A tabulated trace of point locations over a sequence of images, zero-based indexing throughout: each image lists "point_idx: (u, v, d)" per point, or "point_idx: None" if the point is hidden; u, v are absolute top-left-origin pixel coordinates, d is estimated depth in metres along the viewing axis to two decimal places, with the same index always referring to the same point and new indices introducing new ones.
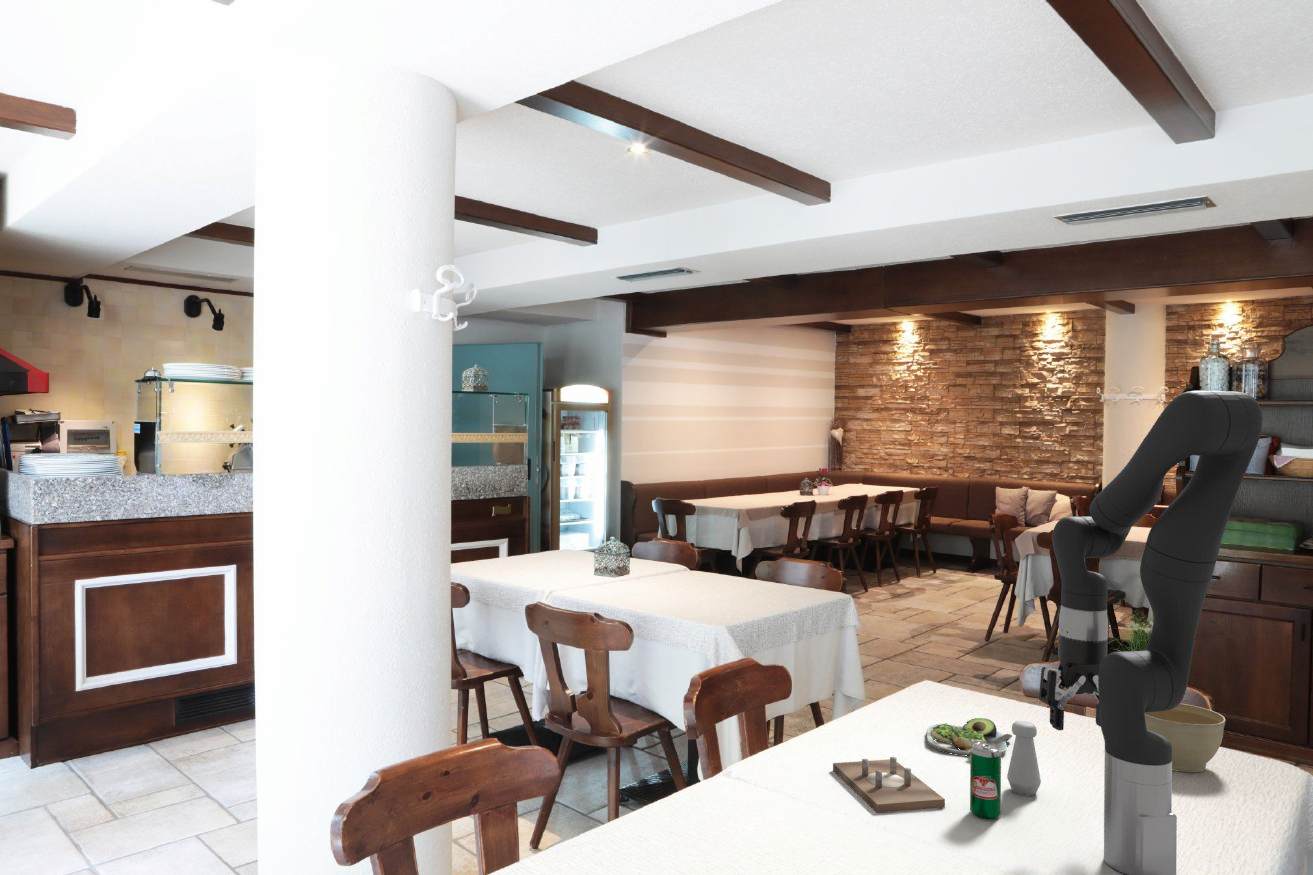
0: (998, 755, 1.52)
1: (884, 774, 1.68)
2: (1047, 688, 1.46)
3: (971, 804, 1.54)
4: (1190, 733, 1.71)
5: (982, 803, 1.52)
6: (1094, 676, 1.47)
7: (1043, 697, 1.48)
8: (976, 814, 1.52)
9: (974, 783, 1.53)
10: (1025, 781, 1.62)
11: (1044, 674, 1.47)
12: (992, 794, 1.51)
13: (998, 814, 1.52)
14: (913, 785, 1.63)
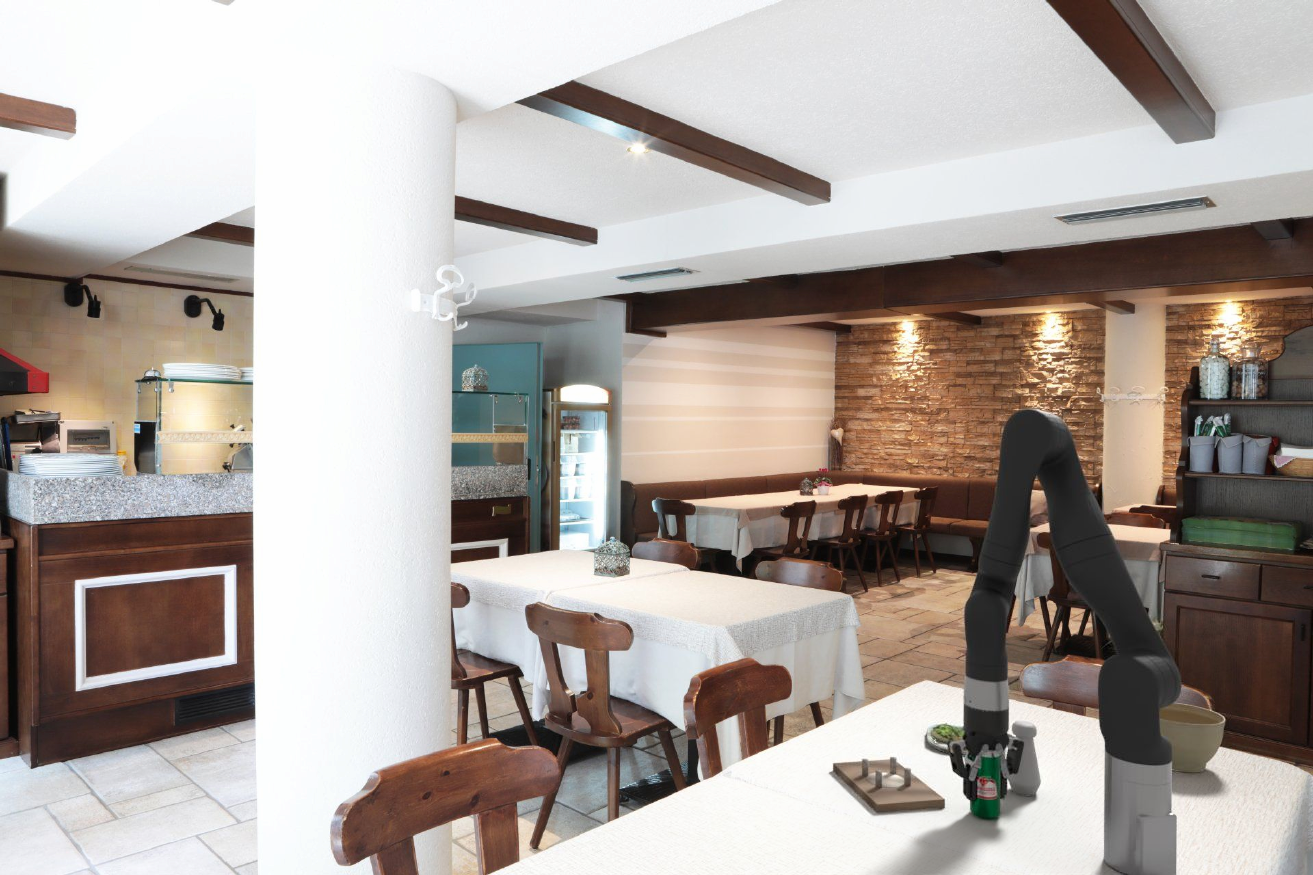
0: (998, 755, 1.52)
1: (884, 774, 1.68)
2: (956, 762, 1.52)
3: (971, 804, 1.54)
4: (1190, 733, 1.71)
5: (982, 803, 1.52)
6: (997, 744, 1.52)
7: (956, 769, 1.53)
8: (976, 814, 1.52)
9: None
10: (1025, 781, 1.62)
11: (950, 748, 1.53)
12: (992, 794, 1.51)
13: (998, 814, 1.52)
14: (913, 785, 1.63)
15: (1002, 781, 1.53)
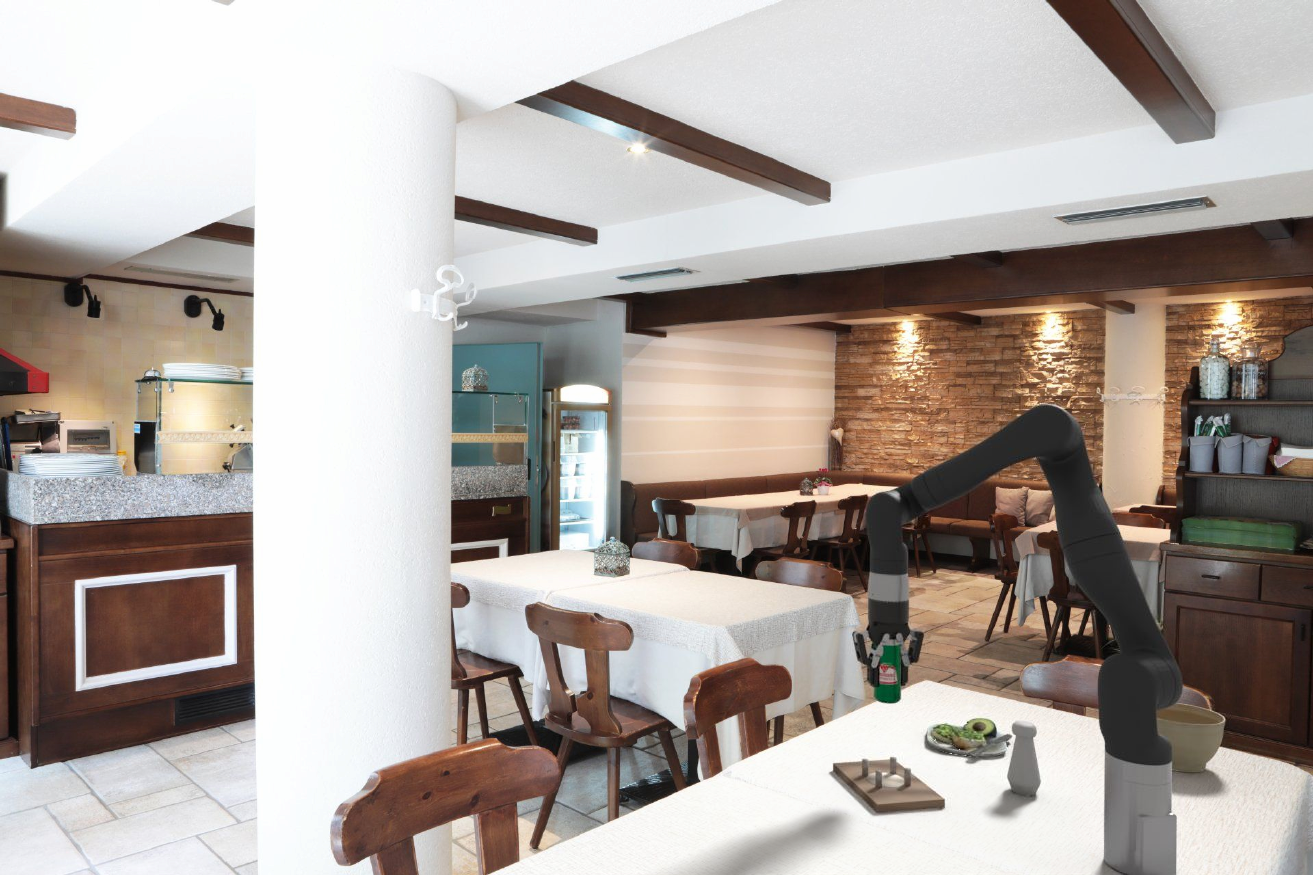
0: (898, 643, 1.64)
1: (884, 774, 1.68)
2: (859, 650, 1.63)
3: (874, 690, 1.65)
4: (1190, 733, 1.71)
5: (883, 688, 1.63)
6: (898, 634, 1.64)
7: (860, 657, 1.65)
8: (878, 699, 1.64)
9: None
10: (1025, 781, 1.62)
11: (854, 638, 1.64)
12: (892, 680, 1.63)
13: (898, 698, 1.64)
14: (913, 785, 1.63)
15: (903, 669, 1.65)
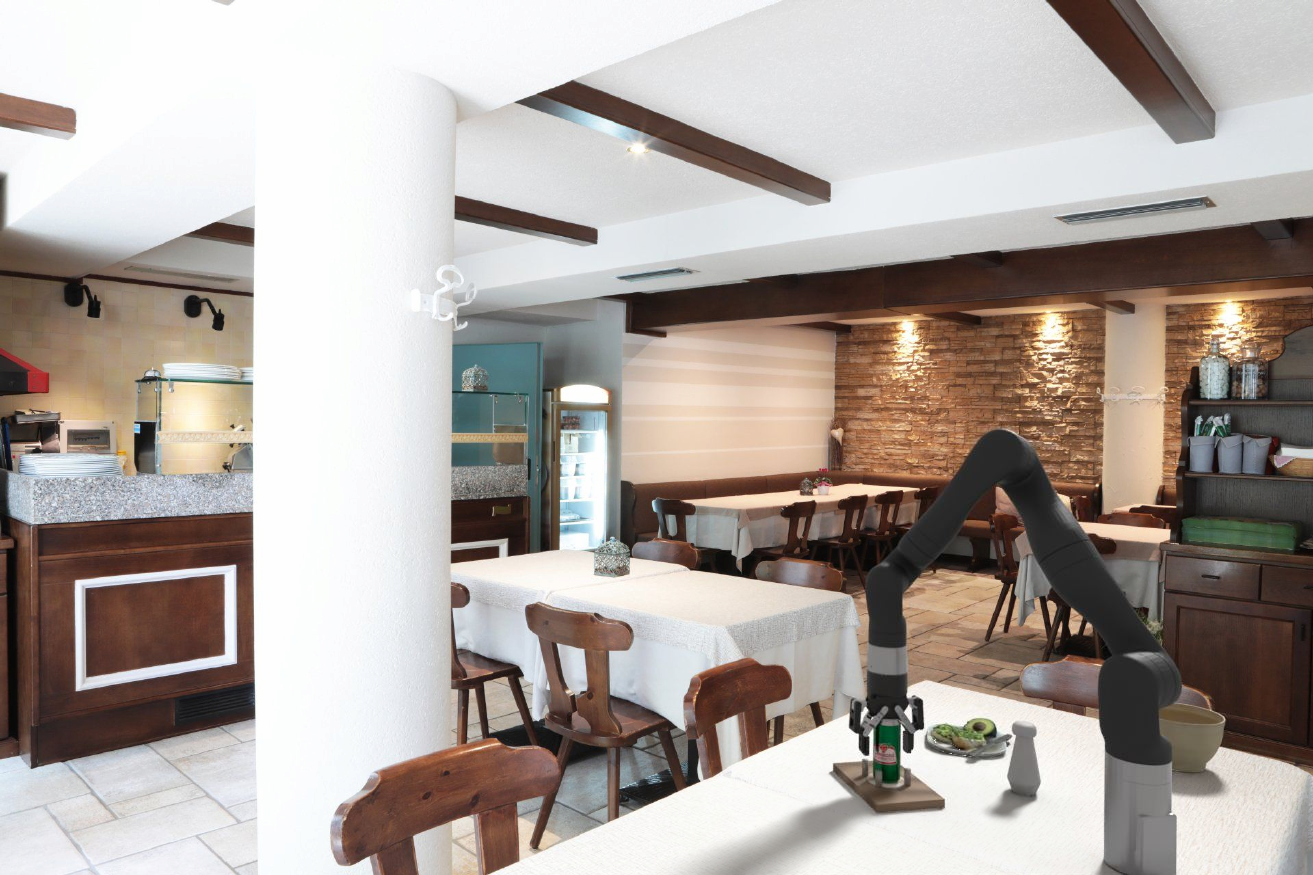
0: (897, 723, 1.63)
1: None
2: (853, 717, 1.63)
3: (873, 769, 1.65)
4: (1190, 733, 1.71)
5: (882, 768, 1.63)
6: (896, 706, 1.64)
7: (851, 726, 1.64)
8: None
9: (876, 750, 1.64)
10: (1025, 781, 1.62)
11: (852, 705, 1.64)
12: (892, 760, 1.63)
13: (897, 778, 1.63)
14: (913, 785, 1.63)
15: (909, 736, 1.65)
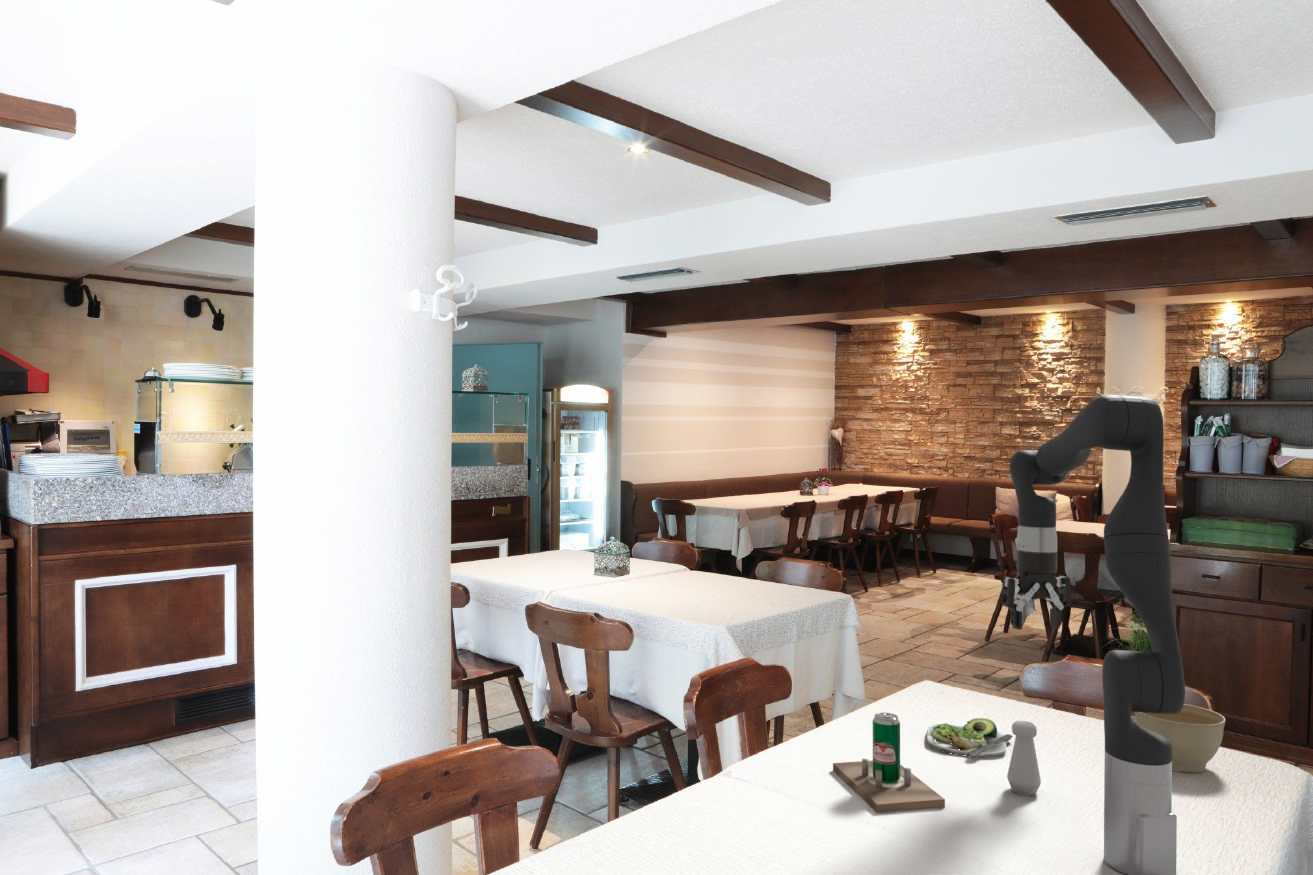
0: (896, 723, 1.64)
1: None
2: (1007, 593, 1.75)
3: (873, 769, 1.65)
4: (1190, 733, 1.71)
5: (881, 768, 1.63)
6: (1046, 583, 1.75)
7: (1004, 602, 1.76)
8: None
9: (875, 749, 1.64)
10: (1025, 781, 1.62)
11: (1005, 582, 1.76)
12: (891, 759, 1.63)
13: (897, 778, 1.63)
14: (913, 785, 1.63)
15: (1057, 612, 1.77)
